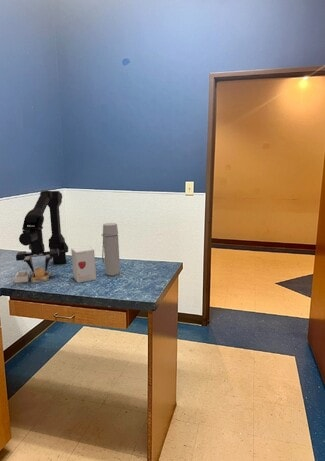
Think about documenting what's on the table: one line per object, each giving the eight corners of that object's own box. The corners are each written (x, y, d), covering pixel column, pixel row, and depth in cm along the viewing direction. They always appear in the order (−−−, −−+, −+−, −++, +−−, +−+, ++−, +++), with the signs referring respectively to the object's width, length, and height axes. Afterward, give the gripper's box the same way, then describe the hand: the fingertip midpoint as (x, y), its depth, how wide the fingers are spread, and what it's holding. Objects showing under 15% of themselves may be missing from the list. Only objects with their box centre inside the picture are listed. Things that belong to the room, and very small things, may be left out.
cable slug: (27, 277, 163) (26, 270, 162) (25, 280, 158) (25, 273, 157) (20, 277, 162) (19, 271, 161) (19, 281, 157) (18, 274, 157)
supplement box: (77, 283, 153) (74, 252, 150) (73, 277, 161) (70, 247, 158) (96, 279, 157) (94, 249, 154) (91, 274, 165) (89, 244, 162)
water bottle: (123, 272, 167) (120, 223, 161) (114, 277, 160) (111, 226, 154) (108, 269, 170) (105, 222, 165) (99, 274, 163) (95, 225, 158)
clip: (30, 275, 164) (29, 271, 164) (28, 281, 157) (27, 276, 156) (17, 277, 163) (16, 272, 162) (14, 282, 155) (14, 277, 155)
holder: (49, 275, 165) (49, 271, 164) (48, 280, 157) (47, 276, 157) (33, 276, 163) (32, 273, 162) (31, 282, 155) (30, 278, 155)
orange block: (45, 277, 163) (44, 267, 162) (44, 280, 158) (43, 270, 157) (36, 278, 162) (35, 268, 161) (35, 281, 157) (34, 271, 156)
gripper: (57, 234, 166) (60, 264, 169) (17, 237, 161) (21, 268, 164) (56, 239, 155) (59, 271, 159) (13, 243, 151) (17, 276, 154)
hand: (39, 271), depth 159 cm, fingers open, 5 cm apart
